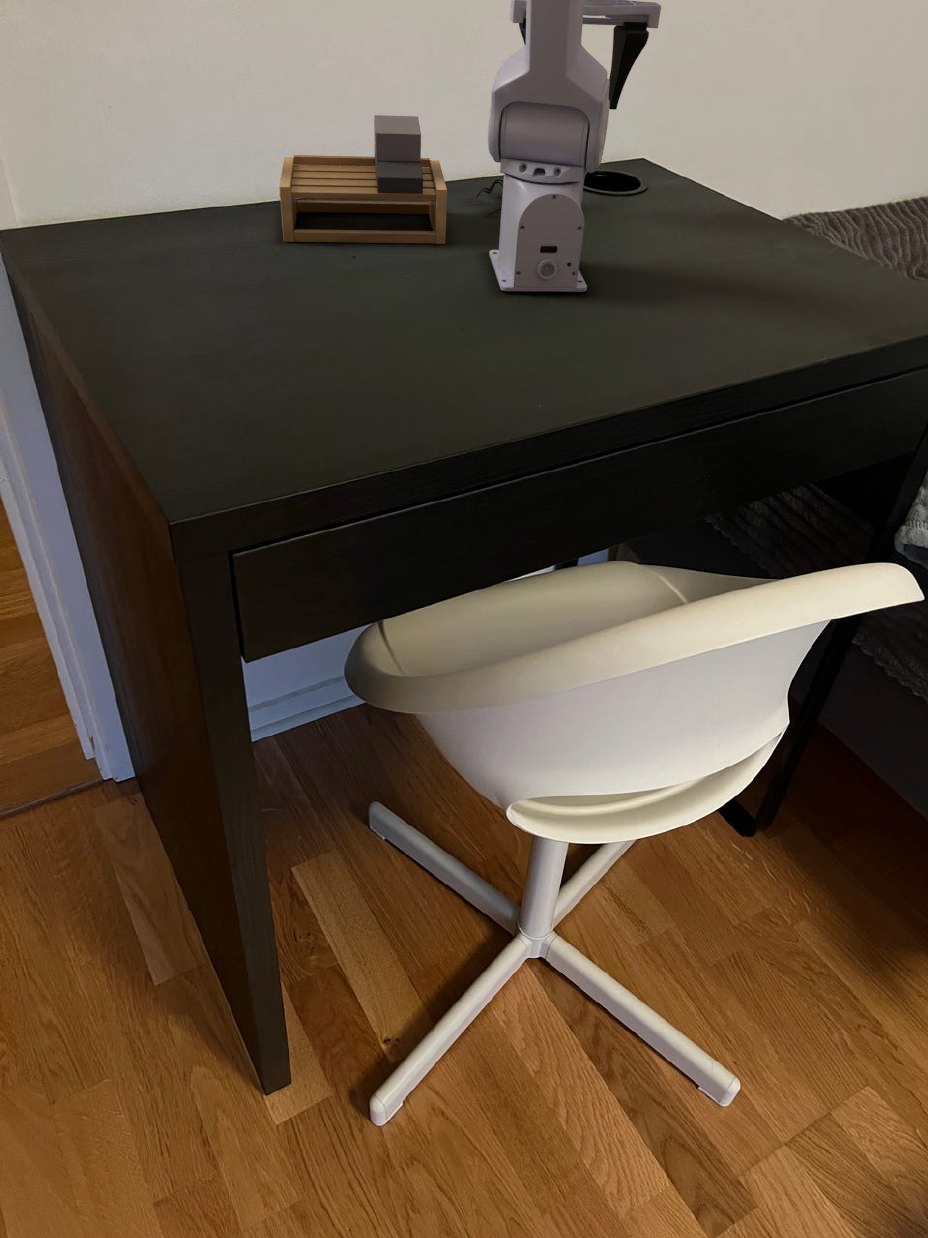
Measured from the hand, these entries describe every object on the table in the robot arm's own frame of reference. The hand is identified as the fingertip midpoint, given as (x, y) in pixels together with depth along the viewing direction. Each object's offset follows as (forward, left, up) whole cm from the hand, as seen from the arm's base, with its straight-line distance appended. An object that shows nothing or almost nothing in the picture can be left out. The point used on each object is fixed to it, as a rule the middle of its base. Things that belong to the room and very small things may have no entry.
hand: (574, 106), depth 98 cm
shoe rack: (-6, +22, -10) cm, 25 cm away
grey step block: (-6, +19, -5) cm, 20 cm away
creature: (+1, +6, -11) cm, 12 cm away
